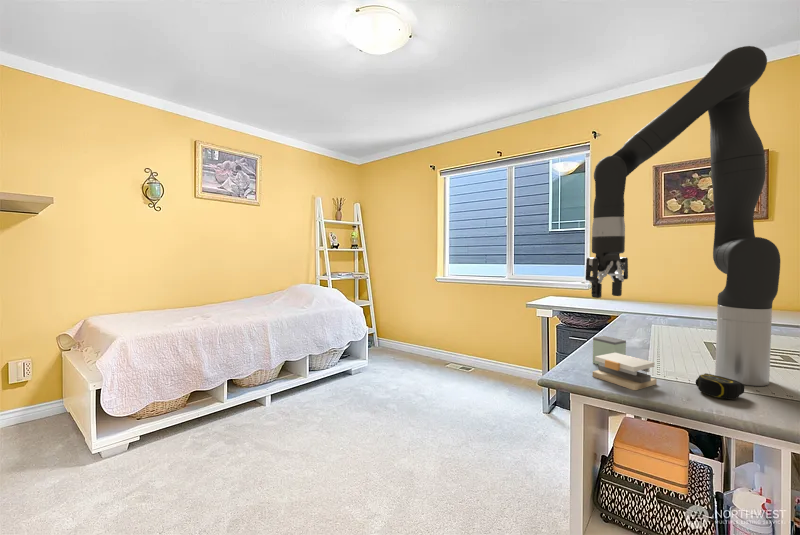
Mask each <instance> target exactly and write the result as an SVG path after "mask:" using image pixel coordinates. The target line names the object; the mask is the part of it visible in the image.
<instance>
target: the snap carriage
mask: <svg viewBox="0 0 800 535" xmlns="http://www.w3.org/2000/svg"><path fill="white" fill-rule="evenodd" d="M595 361H598V362H600V363H599V365H602V366H605V367H607V368H610V369H614V370H617V371H618V370H619V371H622V372H625V373H629V374H632V375H637V372H640V371H642V372H645V373H649V372H650V369H651V368H655V363H656V362H654V361H650V360H646V359H643V358H638V357H634V356H630V355H627V354H626V355H623V354H619V353H610V354H605V355H600V356H595ZM599 365H598V366H599Z"/></svg>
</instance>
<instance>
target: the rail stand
mask: <svg viewBox="0 0 800 535" xmlns="http://www.w3.org/2000/svg"><path fill="white" fill-rule="evenodd" d="M592 377H594V378H595V379H600V380H603V381H605V382H608V383H611V384H615V385H618V386H620V387H624V388H627V389H629V390H632V391H637V390H641V389H645V388H649V387H652V386H656V385H657V383H658V382H657V378H654V377H652V376H651V375H650V374H647V373H643V372H640V371H637V375H632V374H629V373H625V372H622V371H619V370H618V371H617V370H614V369H610V368H607V367H605V366H602V365H598V370H593V371H592Z"/></svg>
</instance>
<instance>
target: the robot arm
mask: <svg viewBox="0 0 800 535" xmlns="http://www.w3.org/2000/svg"><path fill="white" fill-rule="evenodd" d="M767 57H768V56H767V55H766V52H765V51H764V50H763V49H761V48H760V47H757V46H753V45H745V46H740V47H736V48H734V49H732V50H729V51H728V52H726V53H725V54H724V55H722V56H721V57H720V58H719V59H718V60H717V61H716V62H715V63H714V65H713V66H712V67H711V68H710V70H709V71H708V72H707V73H705V75H704V76H703V77H702V78H701V79H700V80H699V81H698V82H697V83H696V84H695V85H694V86H693V87H691V89H689V91H687V92H686V93H685V94H684V95H683V96H681V97H680V98H679V99H678V100H677V101H676V102H674V103H673V104H672V105H670V106H669V107H668V108H666V109H665V110H664V111H663V112H661V113H659V114H658V115H657V116H656V117H655V118H653V119H652V120H650V122H649V123H647V124H645V126H643V127H642V128H641V129H639V130H638V131H637V132H635V134H633V136H632V135H631V137H630V138H628V139H627V141H626V142H624V145H623V146H621V148H619V150H617V151H616V152H614V153H613V154H612V155H607V156H605V157H604V158H601V160H599V161H598V162H597V164H596V165H595V168H594V172H593V180H594V188H595V193H594V194H595V197H594V202H593V212H592V213H593V216H592V217H593V220H592V225H591V226H592V228H591V253H592V254H595V257H587V258H586V262H585V263H586V264H585V265H586V266H585V281H587V282H588V281H589V282H590V283H591V297H592V298H593V299H594V298H595V299H601V298H602V289H603V288H602V285H603V284H602V282H603V280H604V279H605V277H607V276H610V278H611V281H612V282H611V295H612V296H613V297H621V296H622V294H623V292H622V291H623V282H624V281H625V280H628V279H629V258H628V257H627V256H625V257H624V256H623V257H622V256H620V254H624V253H625V251H626V250H625V246H626V245H625V244H626V223H625V222H626V221H625V190H626V182H627V177H628V176H629V175H630V174H632V172H634V171H635V170H636V169H637V168H638V167H639V166H641V165H642V164H644V162H647V161H648V160H650V159H651V158H652V157H653V156H655V155H656V154H658V153H659V152H660V151H662V150H663V149H664V148H665V147H666V146H668V145H669V144H670V143H672V142H673V141H674V140H675V139H677V138H678V136H680V135H681V134H682V133H683V132H684V131H685V130H687V128H689V127H690V126H691V125H692V124H694V123H695V122H696V121H697V120H698V119H699V118H700V117H702V116H703V115H704V114H705V113H706V112H708V118H709V124H710V125H709V127H710V128H709V130H710V131H709V133H710V134H709V135H710V136H709V138H710V140H709V144H710V145H709V149H710V150H709V151H710V174H711V184H712V186H711V187H712V197H713V201H712V202H713V209H714V212H713V213H714V236H713V245H712V246H713V247H712V249H713V250H712V259H713V263H714V265H715V267H716V268H717V269H718V270H719V271H720V272H722V273H723V274H725V275H726V280H725V286H724V288H723V290H721V291H720V292H719V293H718V295H717V302H716V303H717V307H716V309H717V310H716V343H715V368H714V369H715V370H714V373H715V374H714V375H716V376H721V377H725V378H729V379H732V380H735V381H738V382H740V383H742V384H743V385H745V386H746V385H747V386H757V387H763V386H769V385H770V371H771V343H772V318H773V317H772V316H773V314H772V313H773V302H774V300H775V298H776V296H777V295H778V291H779V283H780V273H781V254H780V251H779V248H778V246H777V245H776V244H775V243H774V242H772V240H769V239H767V238H764V237H760V236H756V235H755V233H756V232H755V225H754V224H755V223H754V216H755V211H756V207H757V204H758V202H759V199H760V196H761V195H762V191H763V188H764V184H765V181H766V157H765V155H766V154H765V149H764V145H763V142H762V139H761V138H760V136H759V133H758V132H757V130H756V128H755V126H754V124H753V122H752V120H751V115H750V93H751V88H752V87H753V86H754V85H755V84H756V83H757V82H758V81H759V80H760V78H761V77H762V76H763V74H764V72H765V71H766V68H767V64H768V58H767ZM591 274H592V275H591Z"/></svg>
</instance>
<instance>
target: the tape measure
mask: <svg viewBox="0 0 800 535" xmlns="http://www.w3.org/2000/svg"><path fill="white" fill-rule="evenodd" d="M744 385H745V384H742V383H740V382H738V381H735V380H732V379H729V378H725V377H721V376H716V375H715V374H710V373H703V374H700V375H698V377H697V378H696V380H695V386H696V387H697V388H698V390H699V391H700V392H701V393H703V394H706V395H709V396H711V397H713V398H718V399H729V400H732V399H733V400H735V399H738V398H739V397H740V396H741V395H743V394H744V393H745V386H744Z"/></svg>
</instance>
